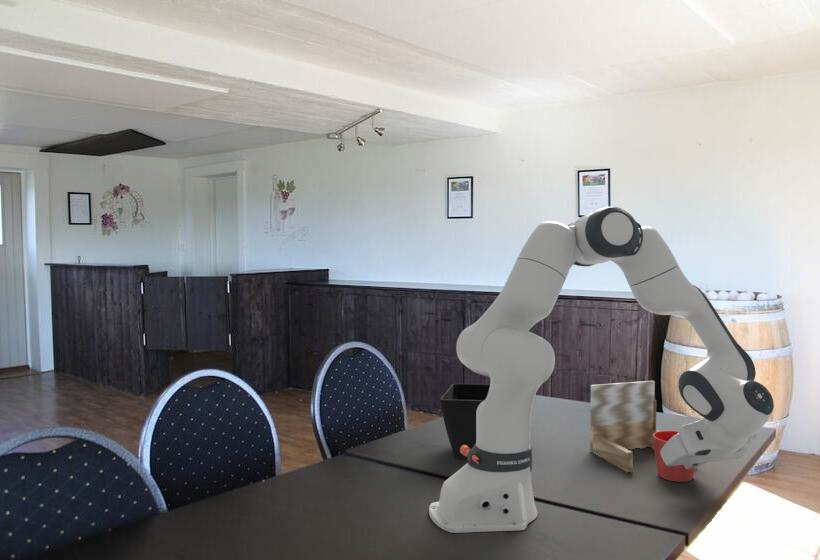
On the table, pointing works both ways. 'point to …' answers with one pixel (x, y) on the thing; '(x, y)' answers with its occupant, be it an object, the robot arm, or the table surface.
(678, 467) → the flower pot
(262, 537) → the table surface
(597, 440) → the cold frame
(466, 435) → the flower pot
